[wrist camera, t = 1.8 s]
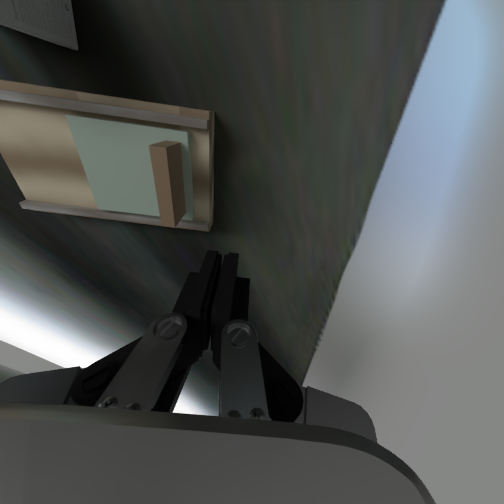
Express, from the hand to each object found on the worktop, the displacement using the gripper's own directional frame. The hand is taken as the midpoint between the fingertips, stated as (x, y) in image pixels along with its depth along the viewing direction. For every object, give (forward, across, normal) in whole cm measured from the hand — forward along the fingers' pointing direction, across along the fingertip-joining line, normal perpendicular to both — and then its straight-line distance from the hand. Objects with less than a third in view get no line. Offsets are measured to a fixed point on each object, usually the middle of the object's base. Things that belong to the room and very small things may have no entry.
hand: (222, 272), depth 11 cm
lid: (+16, +12, 0) cm, 20 cm away
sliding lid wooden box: (+19, +16, 0) cm, 25 cm away
